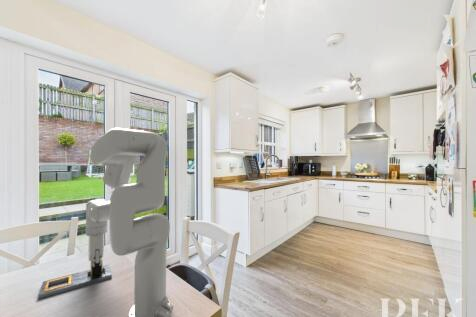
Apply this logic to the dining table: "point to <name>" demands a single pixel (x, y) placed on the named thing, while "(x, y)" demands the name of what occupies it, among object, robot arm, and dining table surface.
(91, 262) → the brass plug
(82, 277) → the socket plate
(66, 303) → the dining table surface
